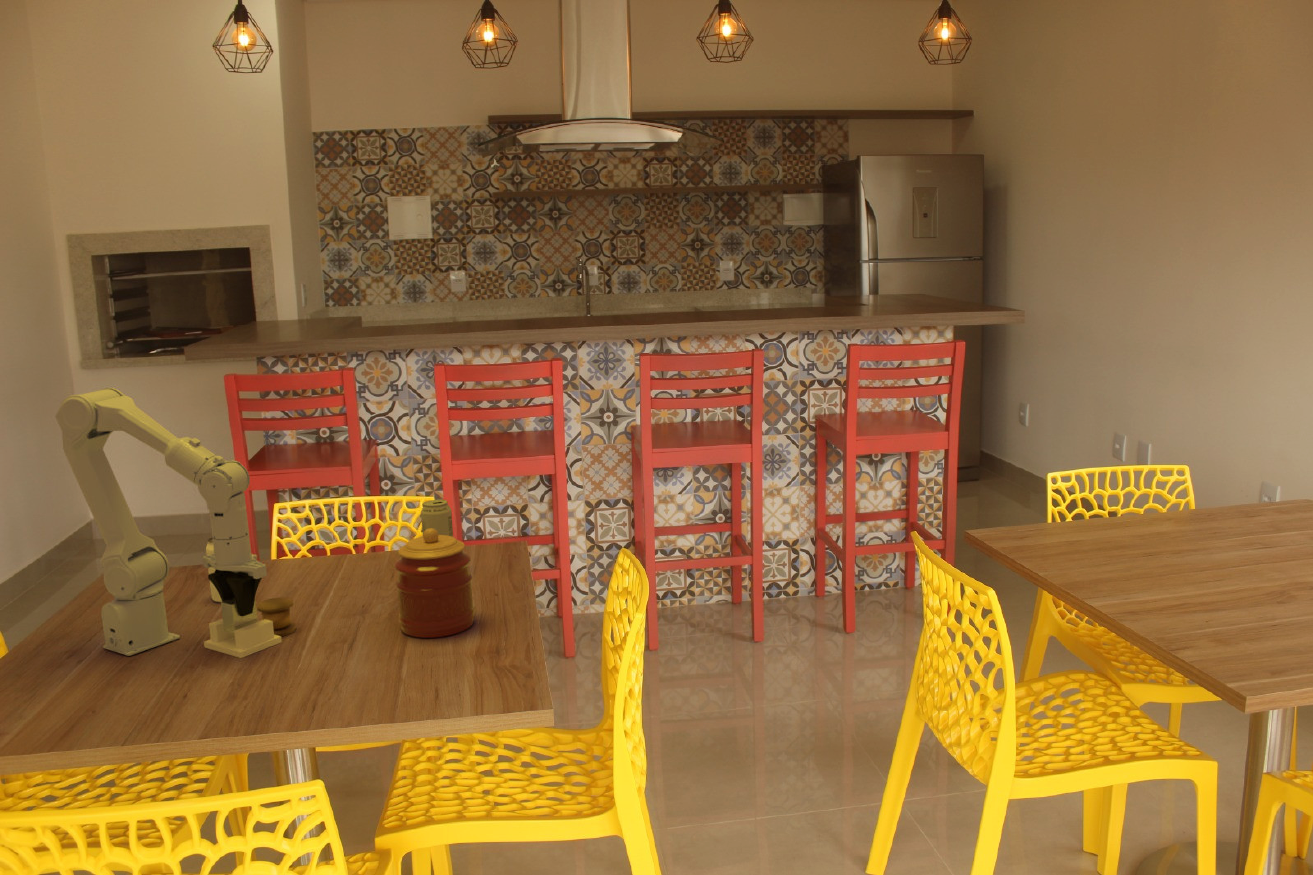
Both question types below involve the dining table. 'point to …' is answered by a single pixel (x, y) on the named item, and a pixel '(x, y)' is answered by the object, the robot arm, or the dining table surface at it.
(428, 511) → the energy drink can
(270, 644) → the notch board
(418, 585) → the canister
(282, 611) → the bobbin
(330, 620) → the dining table surface
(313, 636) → the dining table surface
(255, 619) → the tab
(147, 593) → the robot arm
